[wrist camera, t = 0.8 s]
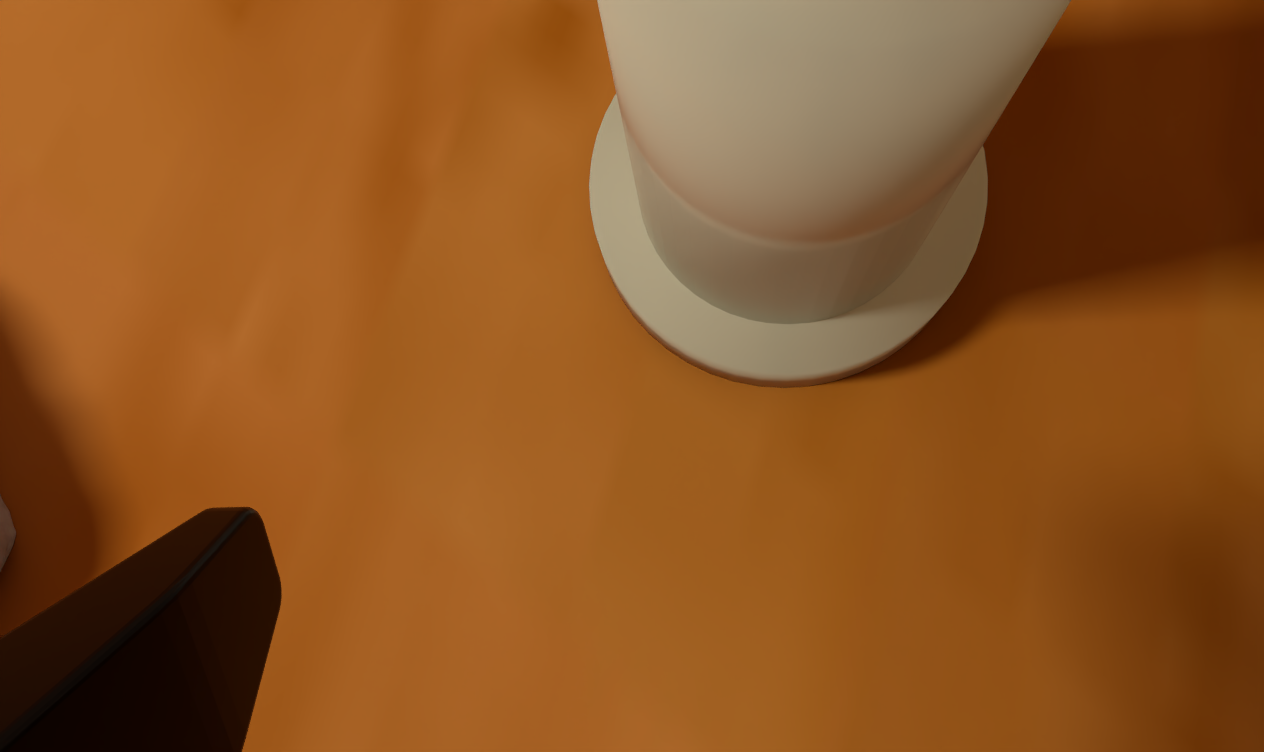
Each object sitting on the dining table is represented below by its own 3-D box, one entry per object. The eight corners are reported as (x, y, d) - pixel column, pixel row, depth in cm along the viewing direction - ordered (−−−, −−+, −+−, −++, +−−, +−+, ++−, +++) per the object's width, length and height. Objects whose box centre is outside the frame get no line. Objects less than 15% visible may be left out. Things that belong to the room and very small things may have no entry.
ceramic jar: (980, 387, 22) (1317, 137, 10) (594, 388, 22) (446, 156, 10) (961, 30, 23) (1230, -581, 11) (600, 41, 24) (478, -526, 12)
